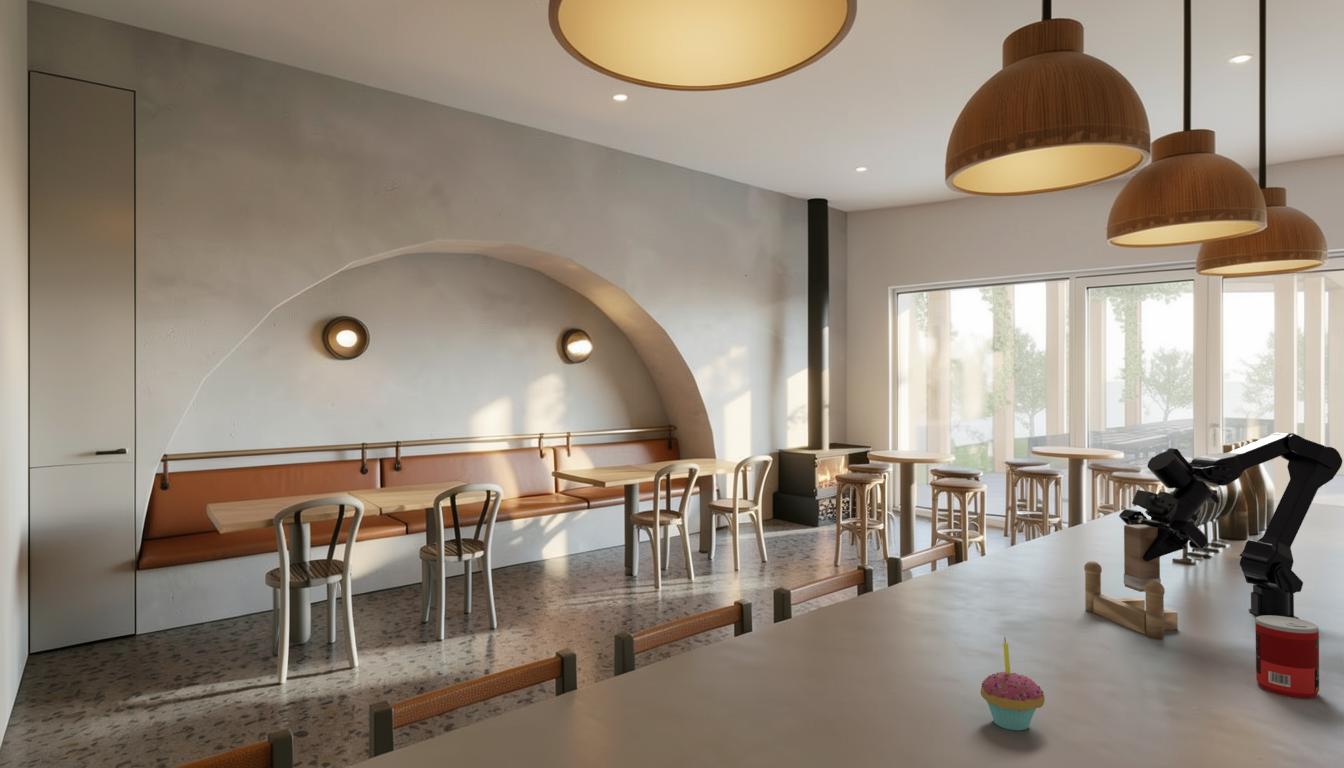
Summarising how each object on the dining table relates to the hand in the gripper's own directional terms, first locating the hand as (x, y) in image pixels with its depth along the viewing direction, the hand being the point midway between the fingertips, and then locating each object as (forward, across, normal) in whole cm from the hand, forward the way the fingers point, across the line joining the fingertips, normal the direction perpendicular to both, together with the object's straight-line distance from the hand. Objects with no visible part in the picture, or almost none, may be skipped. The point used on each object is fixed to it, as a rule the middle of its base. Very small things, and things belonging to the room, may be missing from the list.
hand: (1135, 557), depth 160 cm
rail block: (+4, 0, +6) cm, 7 cm away
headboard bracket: (+10, 0, +10) cm, 14 cm away
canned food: (+11, +36, +8) cm, 39 cm away
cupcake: (+48, +42, -28) cm, 70 cm away
